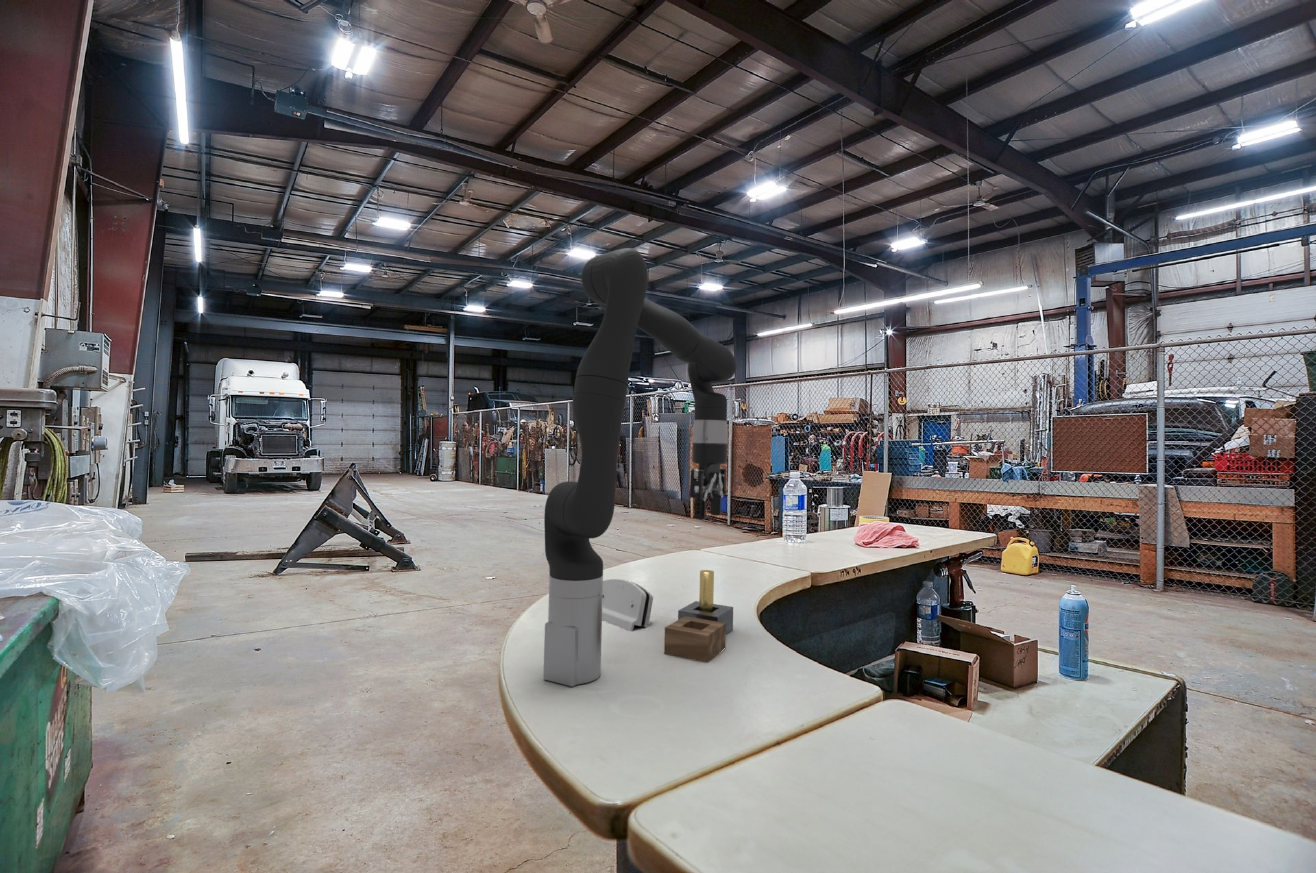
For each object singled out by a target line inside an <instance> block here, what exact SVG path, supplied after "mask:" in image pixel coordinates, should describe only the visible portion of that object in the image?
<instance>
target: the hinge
mask: <svg viewBox="0 0 1316 873" xmlns="http://www.w3.org/2000/svg"><path fill="white" fill-rule="evenodd" d="M653 602H654V596H653V595H652V593H651V592H649V591H648V590H647V589H646V588H645V587H643V586H641V585H639V584H638V583H635V582H633V581H629V580H625V579H619V578H611V579H606V580H603V593H602V622H604V621H606V622H605V623H607V622H608V623H607V624H610V625H613V626H615V627H617V626H618V628H620V629H623V630H626V631H629V632H633V630H634V627H635V626H638V627H644V628H647V629H648V628H649V624H650V618H651V613H652V608H653Z"/></svg>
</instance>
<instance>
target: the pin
mask: <svg viewBox="0 0 1316 873" xmlns="http://www.w3.org/2000/svg"><path fill="white" fill-rule="evenodd" d="M714 581H715V571H713V570H709V569H702V570H700V571H699V597H698V598H699V599H698V600H699V601H698V602H699V611H704V612H710V613H712V612H713V604H714V587H715V586H714V584H715V583H714Z"/></svg>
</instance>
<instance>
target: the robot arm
mask: <svg viewBox="0 0 1316 873" xmlns="http://www.w3.org/2000/svg"><path fill="white" fill-rule="evenodd" d="M648 282H649V271H648V266H647V263H646V260H645V258H644V256H643V255H642V254H641V253H640V251H638V250H637V249H635V248H634V249H633V248H629V247H626V248H620V249H619V248H618V249H616V250H613V251H610V252H606V253H604V254H600V255H597V256H594V257H593V258H591V259H589V260H588V261H586V263H585V264H584V266H583V268H582V270H581V284H582V289H583V290H584V291H585V294H586V295H587V296H588V298H590V299H591V300H592V301H593V302H594V303H595V304H597V305H598V306H600V307H602V308H604V315H603V318H602V321H601V324H600V327H599V328H598V331H597V332H596V334H595V336H594V337H593V339H592V341H591V343H589V345H588V347H587V350H586V351H585V352H584V355H583V357H582V358H581V360H580V363H579V364H578V367H577V371H576V375H575V381H574V387H573V393H572V402H571V403H572V404H571V405H572V414H573V415H572V416H573V420H574V424H575V427H576V430H577V433H578V436H579V437H578V438H579V442H580V448H581V458H580V466H579V473H578V479H577V481H563V482H559V483H557V484H556V485H554V487H553V488H552V489H551V490H550V492H549V493H548V496H547V498H546V502H545V506H544V517H543V518H544V519H543V520H544V523H543V525H544V554H545V557H546V561H547V564H548V566H549V568H548V570H549V571H548V572H549V582H548V616H547V618H548V619H547V622H546V623H545V624H544V641H543V643H544V646H543V647H544V648H543V649H544V650H543V680H545V681H550V682H554V683H556V684H561V685H565V686H568V687H575V686H577V685H582V684H586V683H590V682H594V681H596V680H597V679H598V678H599V677H601V674H602V673H601V669H602V632H603V631H602V627H603V626H602V623H603V621H602V593H603V581H604V561H603V558H602V557H601V556H600V555H599V554H598V553H597V552H596V550H594V548H593V546H592V544H591V542H590V539H597V538H599V537H600V536H602V535H603V534H605V533H606V531H607V530H608V529H609V527H610V526H611V523H612V520H613V516H614V512H615V505H616V504H615V503H616V488H617V470H618V469H617V468H618V454H619V446H620V445H619V444H620V440H621V439H620V438H621V429H622V423H623V416H624V410H625V405H626V399H627V398H626V397H627V393H628V386H629V378H630V377H629V376H630V369H631V363H632V357H633V351H634V346H635V340H636V334H637V330H638V329H639V330H641V331H642V332H644V333H645V334H647V335H648V336H650V337H651V338H653V339H654V340H655V341H657V342H658V343H659V344H660V345H661V346H663V347H664V349H666V350H668V351H669V353H671V354H672V355H673V356H675V357H676V358H677V359H678V360H680V361H681V362H684V363H687V373H688V378H689V384H690V387H691V392H692V395H693V401H694V421H693V428H692V448H691V449H692V450H691V451H692V454H691V459H692V460H691V461H692V463H693V464H698V468H691V470H690V483H689V484H690V485H689V488H690V489H689V498H691V499H693V501H694V518H695V519H698V520H705V519H706V515H707V511H706V510H707V501H706V500H707V497H708V494H709V495H710V497H711V498H710V515H712V516H720V515H721V514H722V498H724V496H726V494H727V468H724V467H721V465H725V464H727V462H728V437H729V436H728V435H729V434H728V433H729V432H728V398H727V397H726V395H724V393H719V392H715V390H714V387H713V384H712V383H718V382H725V381H728V380H730V379H732V378H733V377H734V375H735V374H736V371H737V361H736V358H735V355H734V354H733V353H732V351H731V350H730V349H729V348H728V347H727V346H725V345H724V344H722V343H720V342H718V341H716V340H714V339H712V338H711V337H709V336H706V335H704V334H702V333H701V332H700V331H699V329H698V328H696V327H695V326H694V325H693V324H692V323H691V322H689V321H688V320H687V319H686V318H685V317H683V316H682V315H680V314H679V313H677V312H675V311H673V310H671V309H669V308H666V307H665V306H662V305H660V304H657V303H655V302H653V300H652V301H651V300H650V299H648V298H646V294H647V290H648Z"/></svg>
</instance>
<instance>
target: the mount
mask: <svg viewBox="0 0 1316 873" xmlns="http://www.w3.org/2000/svg"><path fill="white" fill-rule="evenodd" d="M726 636H727V635H726V623H722V622H716V621H710V620H705V619H699V618H693V617H687V616H684V617H682V618H681V619H679V620H678V619H676V620H675V621H674V622H672V623H670V624H668V625H666V626H665V627H664V644H663V645H664V647H663V648H664V649H663V651H664V652H663V654H664V655H668V656H673V657H678V658H683V659H688V660H693V661H698V662H702V663H703V662H704V663H709V662H710V661H711V660H713V659H714V658H715V657H717V656H718V655H719V654H720V653H722V652H723V651H724V650H725V649H726V642H727V640H726ZM724 648H725V649H724ZM723 649H724V650H723ZM722 650H723V651H722ZM721 651H722V652H721ZM719 652H720V653H719ZM717 654H718V655H717Z"/></svg>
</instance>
